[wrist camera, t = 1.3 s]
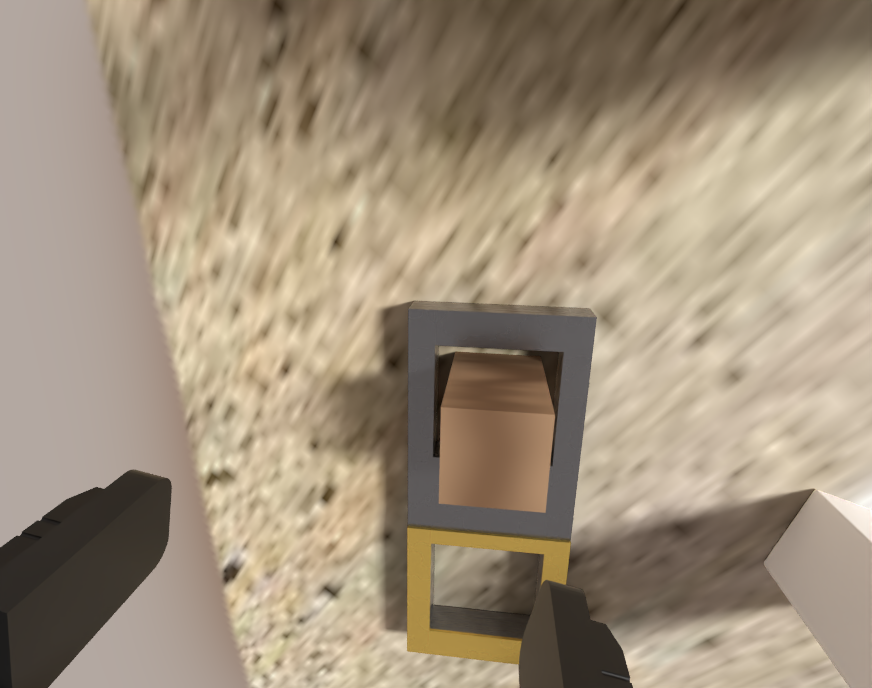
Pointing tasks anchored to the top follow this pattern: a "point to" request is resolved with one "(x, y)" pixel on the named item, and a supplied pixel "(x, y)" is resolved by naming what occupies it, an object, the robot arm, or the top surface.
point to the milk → (831, 580)
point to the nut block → (496, 433)
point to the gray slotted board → (478, 525)
